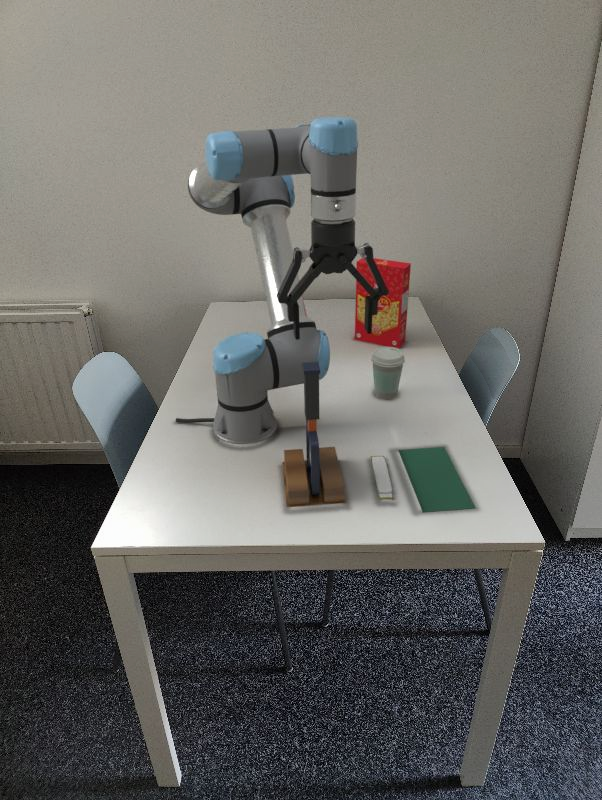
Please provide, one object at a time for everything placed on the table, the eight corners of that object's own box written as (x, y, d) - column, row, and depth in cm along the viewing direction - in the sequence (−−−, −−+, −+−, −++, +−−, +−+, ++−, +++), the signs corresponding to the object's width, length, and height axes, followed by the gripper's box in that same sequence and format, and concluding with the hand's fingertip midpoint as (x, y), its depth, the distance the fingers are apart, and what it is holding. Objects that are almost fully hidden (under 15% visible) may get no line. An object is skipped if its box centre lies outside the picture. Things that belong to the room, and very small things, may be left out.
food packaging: (354, 339, 185) (356, 261, 172) (361, 333, 188) (364, 256, 176) (398, 348, 178) (404, 268, 165) (405, 342, 182) (410, 263, 169)
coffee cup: (401, 403, 150) (404, 361, 144) (367, 400, 152) (369, 359, 146) (403, 387, 157) (406, 346, 151) (371, 384, 159) (373, 344, 153)
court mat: (415, 512, 114) (415, 512, 114) (391, 450, 132) (391, 450, 132) (475, 508, 115) (475, 507, 115) (444, 447, 133) (444, 446, 133)
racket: (323, 497, 117) (322, 379, 103) (308, 499, 117) (305, 380, 103) (317, 464, 126) (316, 352, 113) (303, 465, 126) (300, 353, 113)
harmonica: (394, 503, 117) (394, 495, 116) (378, 504, 117) (379, 496, 116) (384, 460, 129) (384, 452, 128) (370, 460, 129) (370, 453, 128)
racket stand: (347, 507, 116) (347, 488, 114) (286, 512, 115) (285, 493, 113) (336, 462, 129) (336, 444, 127) (282, 466, 128) (281, 448, 126)
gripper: (261, 228, 95) (268, 347, 106) (411, 219, 98) (402, 336, 108) (258, 217, 101) (264, 330, 112) (398, 209, 104) (391, 321, 115)
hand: (332, 333), depth 110 cm, fingers open, 13 cm apart
